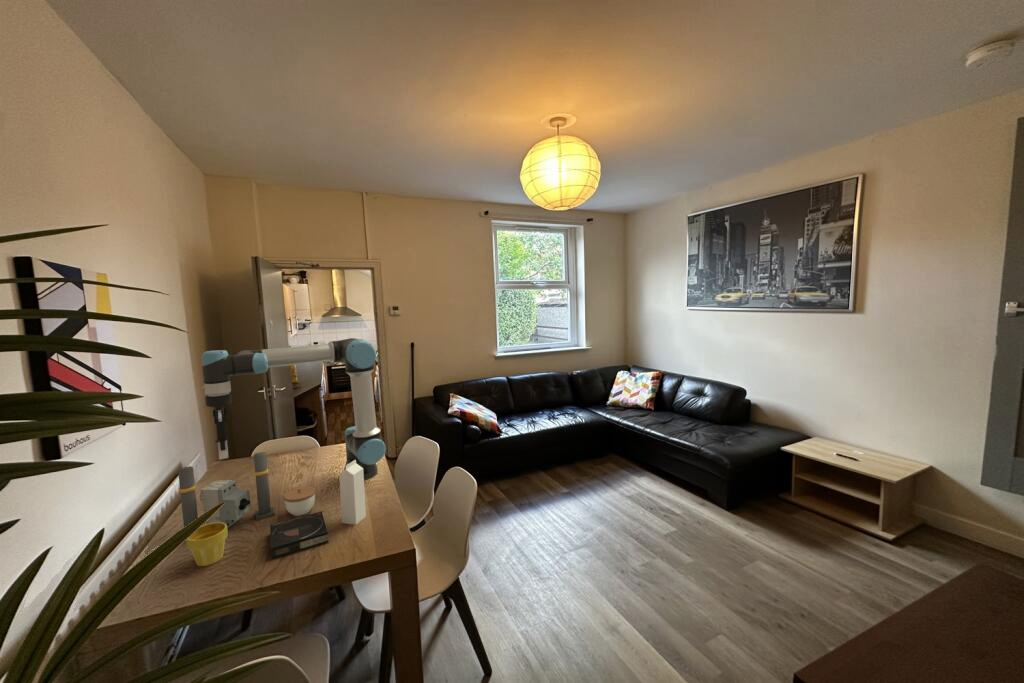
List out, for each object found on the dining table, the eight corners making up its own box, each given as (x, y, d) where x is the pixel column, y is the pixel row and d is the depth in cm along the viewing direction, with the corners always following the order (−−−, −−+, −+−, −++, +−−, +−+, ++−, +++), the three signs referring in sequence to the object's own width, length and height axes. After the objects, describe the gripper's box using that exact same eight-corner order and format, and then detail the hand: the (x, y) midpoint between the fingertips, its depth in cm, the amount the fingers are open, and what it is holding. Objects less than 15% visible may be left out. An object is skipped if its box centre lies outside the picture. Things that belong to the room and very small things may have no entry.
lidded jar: (322, 507, 159) (321, 484, 158) (300, 521, 149) (298, 497, 148) (301, 503, 163) (300, 481, 162) (278, 516, 153) (276, 493, 152)
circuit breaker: (242, 529, 144) (238, 489, 143) (203, 530, 144) (199, 489, 143) (255, 518, 152) (252, 480, 150) (218, 518, 152) (215, 480, 150)
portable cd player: (271, 561, 126) (270, 549, 126) (270, 535, 141) (270, 524, 141) (328, 544, 135) (327, 532, 135) (322, 521, 149) (321, 511, 149)
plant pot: (183, 574, 120) (180, 543, 119) (194, 555, 130) (191, 526, 129) (225, 565, 124) (222, 535, 124) (233, 546, 134) (230, 518, 133)
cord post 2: (273, 508, 159) (268, 449, 156) (274, 515, 154) (270, 454, 151) (255, 513, 155) (250, 453, 153) (256, 520, 150) (251, 458, 148)
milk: (342, 523, 147) (337, 465, 145) (352, 514, 153) (348, 458, 151) (356, 525, 146) (352, 466, 143) (366, 516, 152) (362, 459, 149)
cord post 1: (203, 527, 146) (196, 463, 143) (202, 535, 141) (196, 469, 139) (181, 533, 142) (175, 468, 140) (180, 541, 137) (173, 473, 135)
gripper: (205, 392, 146) (211, 455, 149) (204, 398, 136) (210, 466, 138) (230, 389, 151) (235, 450, 153) (231, 395, 140) (237, 461, 142)
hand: (223, 458), depth 145 cm, fingers closed
